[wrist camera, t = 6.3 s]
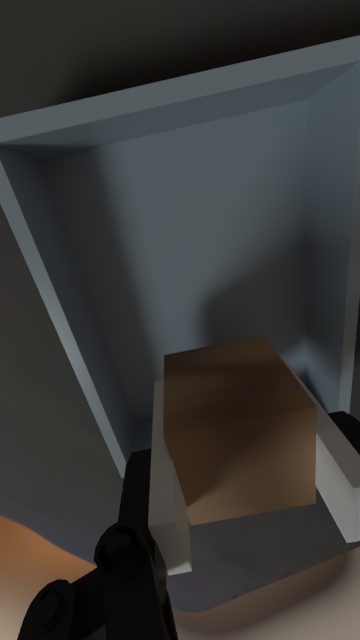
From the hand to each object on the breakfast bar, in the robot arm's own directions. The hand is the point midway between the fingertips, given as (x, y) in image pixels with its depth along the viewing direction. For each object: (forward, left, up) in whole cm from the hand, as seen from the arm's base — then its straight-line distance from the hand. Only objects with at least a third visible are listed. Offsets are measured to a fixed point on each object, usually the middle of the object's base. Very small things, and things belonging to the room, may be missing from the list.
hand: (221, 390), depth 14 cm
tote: (-4, 0, -4) cm, 5 cm away
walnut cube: (0, 0, 0) cm, 0 cm away
